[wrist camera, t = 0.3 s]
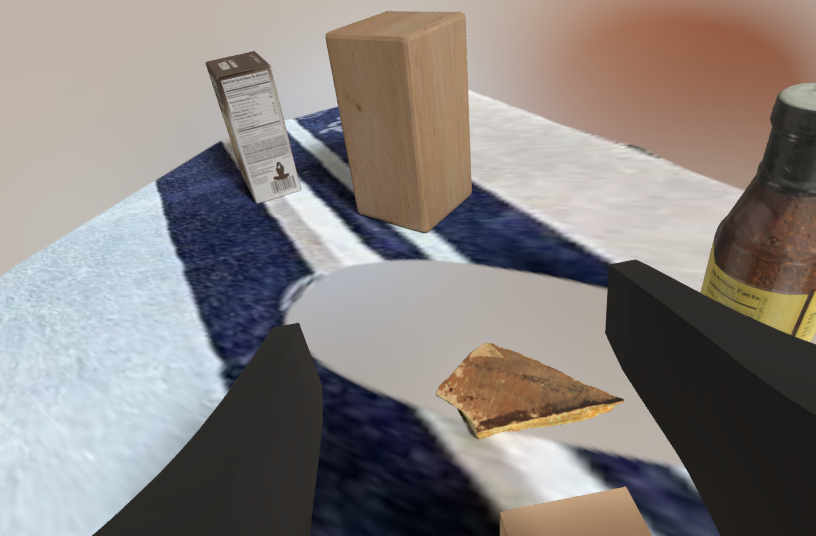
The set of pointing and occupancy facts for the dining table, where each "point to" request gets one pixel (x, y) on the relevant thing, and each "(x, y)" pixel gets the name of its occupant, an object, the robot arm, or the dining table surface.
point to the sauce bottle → (774, 227)
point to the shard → (518, 393)
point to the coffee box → (255, 124)
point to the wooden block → (405, 114)
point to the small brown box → (578, 517)
